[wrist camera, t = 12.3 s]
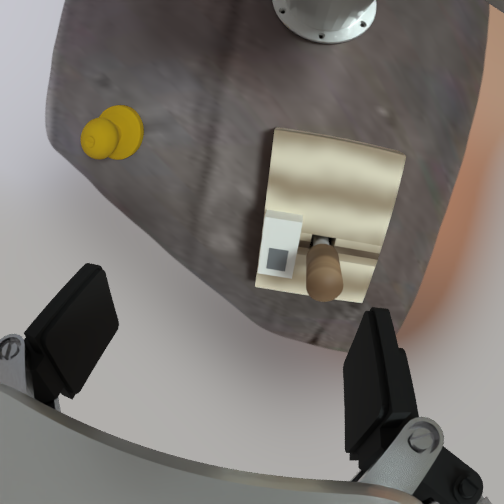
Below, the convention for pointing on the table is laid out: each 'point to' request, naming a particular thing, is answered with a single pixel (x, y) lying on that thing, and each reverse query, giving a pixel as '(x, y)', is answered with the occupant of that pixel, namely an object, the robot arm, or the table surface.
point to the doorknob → (113, 134)
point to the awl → (323, 270)
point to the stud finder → (279, 243)
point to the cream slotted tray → (333, 202)
